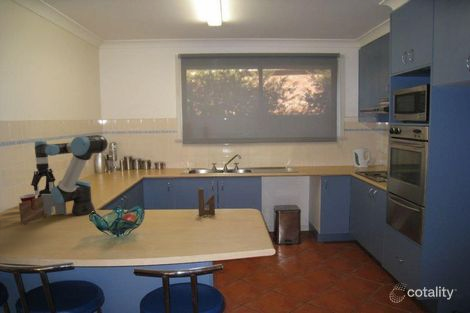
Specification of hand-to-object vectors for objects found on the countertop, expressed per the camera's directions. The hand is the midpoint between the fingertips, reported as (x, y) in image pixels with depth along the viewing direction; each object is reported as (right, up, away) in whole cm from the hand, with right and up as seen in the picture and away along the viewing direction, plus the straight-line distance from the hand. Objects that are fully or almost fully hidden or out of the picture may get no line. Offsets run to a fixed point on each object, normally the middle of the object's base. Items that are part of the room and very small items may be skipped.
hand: (44, 193), depth 251 cm
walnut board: (+1, -17, -16) cm, 23 cm away
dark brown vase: (-11, -12, +31) cm, 35 cm away
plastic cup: (-16, -15, +10) cm, 24 cm away
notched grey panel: (+7, -15, 0) cm, 16 cm away
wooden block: (+115, -14, -11) cm, 117 cm away
